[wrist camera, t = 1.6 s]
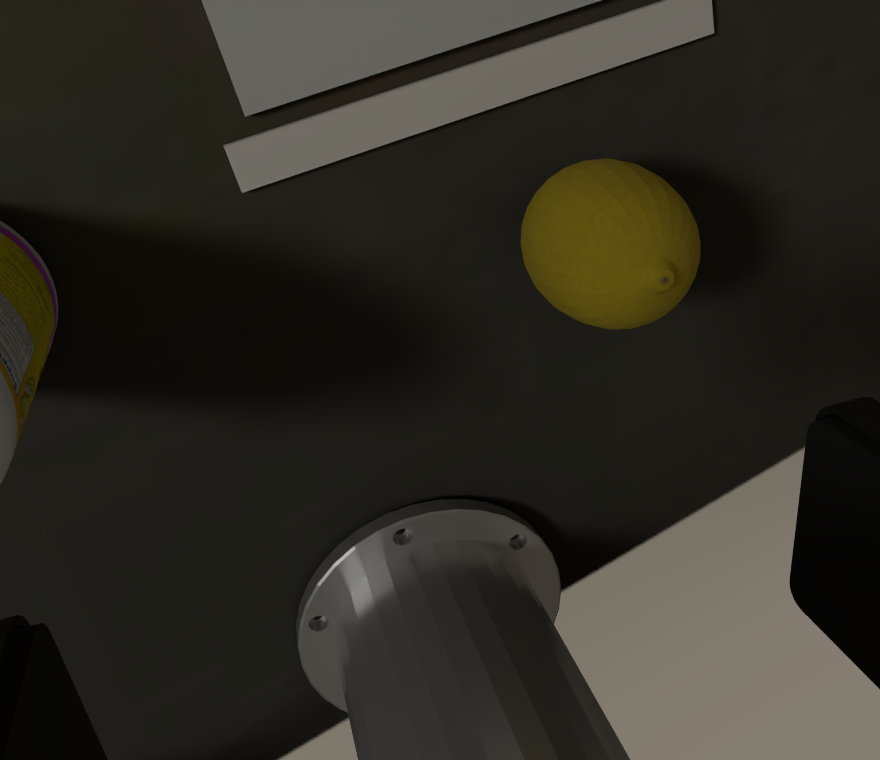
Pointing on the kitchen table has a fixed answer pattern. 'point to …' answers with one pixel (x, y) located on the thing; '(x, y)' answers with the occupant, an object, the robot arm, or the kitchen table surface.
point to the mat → (349, 38)
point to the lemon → (610, 244)
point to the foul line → (466, 91)
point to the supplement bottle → (21, 333)
